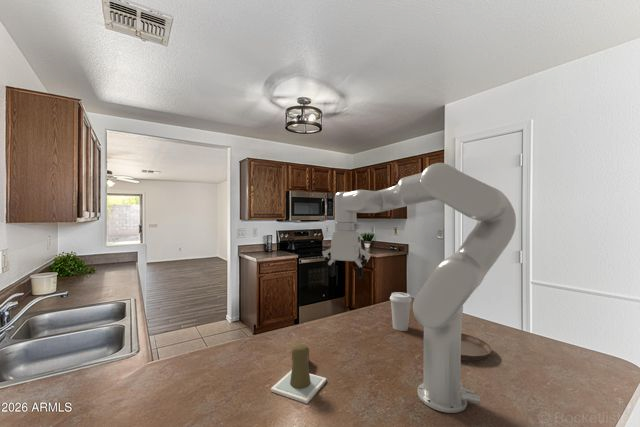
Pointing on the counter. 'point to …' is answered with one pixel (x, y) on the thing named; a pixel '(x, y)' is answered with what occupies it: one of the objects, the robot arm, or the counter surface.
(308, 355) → the walnut block
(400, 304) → the coffee cup
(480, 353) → the plant saucer
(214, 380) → the counter surface
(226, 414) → the counter surface
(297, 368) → the olive rounded tall piece
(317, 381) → the plate
